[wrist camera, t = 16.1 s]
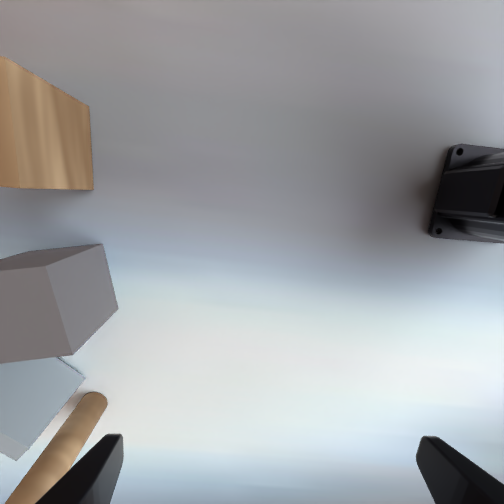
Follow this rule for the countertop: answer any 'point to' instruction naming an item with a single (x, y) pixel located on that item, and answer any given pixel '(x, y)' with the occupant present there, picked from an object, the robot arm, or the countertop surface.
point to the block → (53, 301)
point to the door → (32, 400)
